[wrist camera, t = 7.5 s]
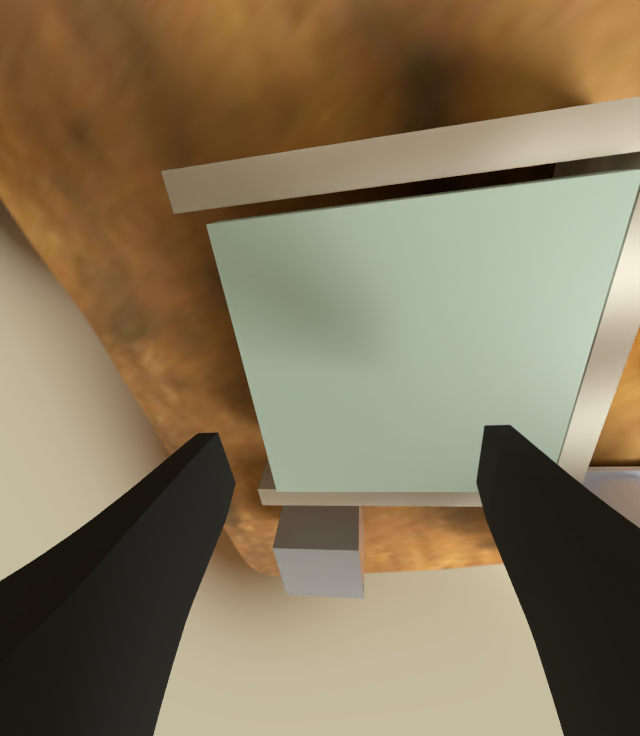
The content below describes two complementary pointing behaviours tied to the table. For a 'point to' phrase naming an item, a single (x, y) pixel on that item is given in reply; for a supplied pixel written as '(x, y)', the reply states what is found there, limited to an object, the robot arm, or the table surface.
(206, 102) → the table surface
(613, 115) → the frame
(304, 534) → the granite block
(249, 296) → the trapdoor
